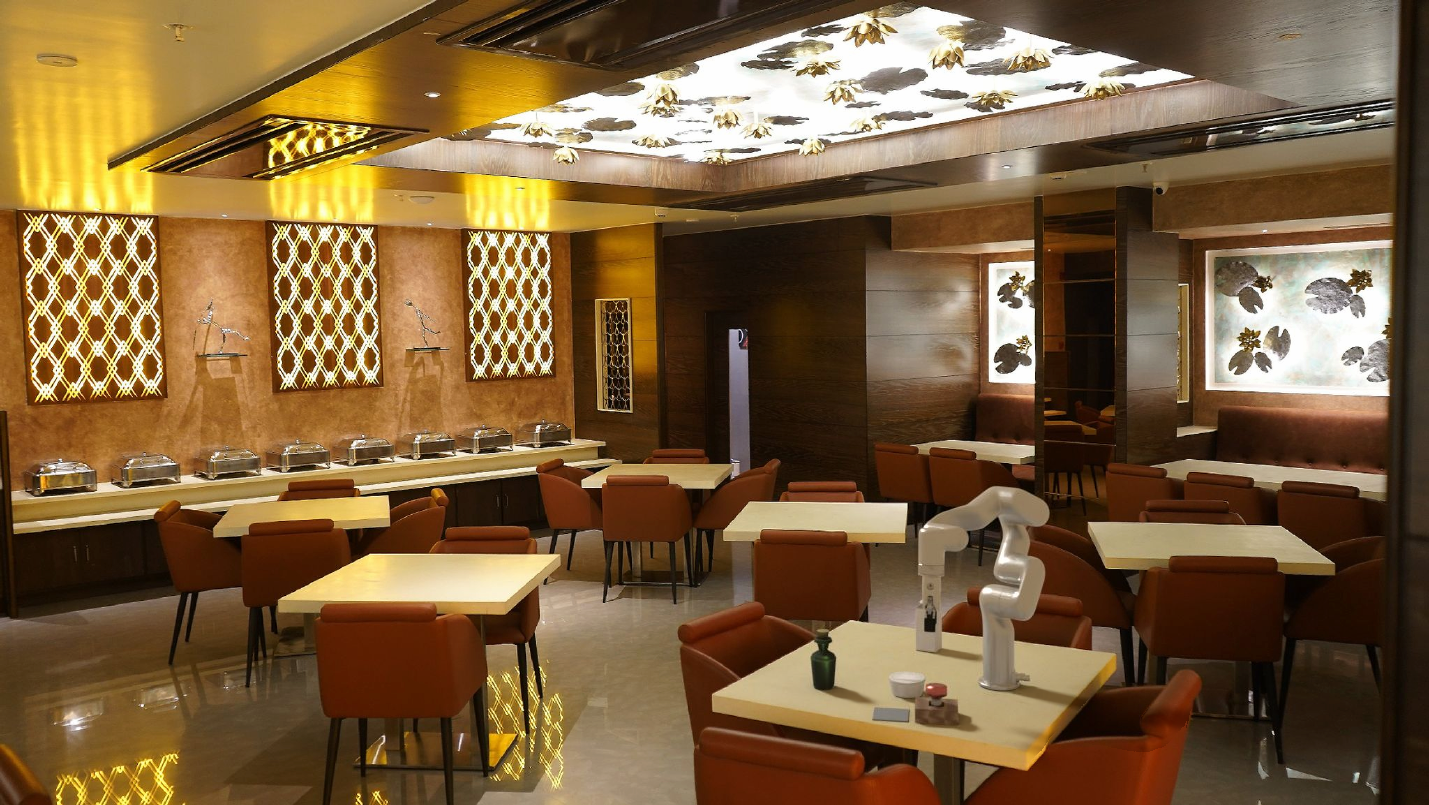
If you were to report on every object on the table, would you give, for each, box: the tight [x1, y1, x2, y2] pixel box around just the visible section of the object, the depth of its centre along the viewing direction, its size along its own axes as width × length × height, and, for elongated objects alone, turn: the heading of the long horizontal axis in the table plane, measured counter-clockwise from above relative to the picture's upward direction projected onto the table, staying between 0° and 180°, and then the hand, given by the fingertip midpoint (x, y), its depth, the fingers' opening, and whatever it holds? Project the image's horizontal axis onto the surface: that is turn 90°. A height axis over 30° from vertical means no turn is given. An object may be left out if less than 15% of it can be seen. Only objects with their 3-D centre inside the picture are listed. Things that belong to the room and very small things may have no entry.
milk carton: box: [915, 599, 943, 653], centre depth 362 cm, size 7×7×19 cm
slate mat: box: [871, 706, 910, 723], centre depth 298 cm, size 10×10×1 cm
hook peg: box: [925, 682, 948, 707], centre depth 295 cm, size 6×6×9 cm
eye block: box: [914, 696, 959, 726], centre depth 295 cm, size 12×10×4 cm
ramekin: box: [888, 671, 926, 699], centre depth 316 cm, size 11×11×5 cm
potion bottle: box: [809, 628, 837, 691], centre depth 324 cm, size 8×8×18 cm
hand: (930, 628), depth 300 cm, fingers open, 9 cm apart
